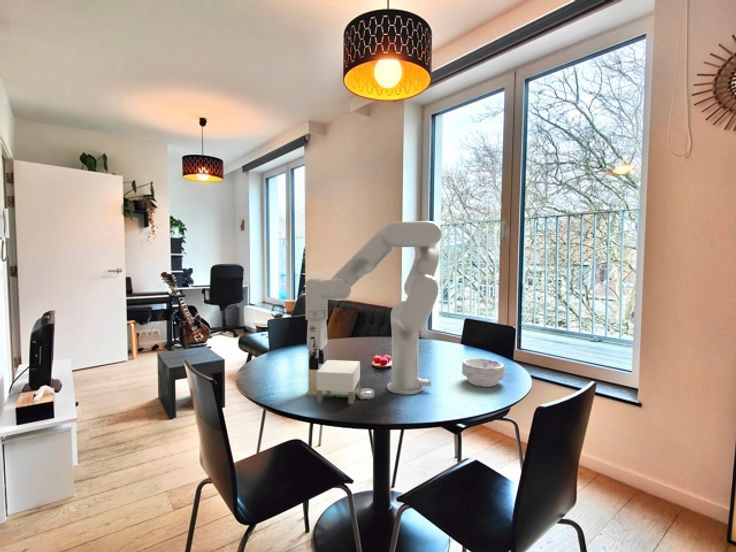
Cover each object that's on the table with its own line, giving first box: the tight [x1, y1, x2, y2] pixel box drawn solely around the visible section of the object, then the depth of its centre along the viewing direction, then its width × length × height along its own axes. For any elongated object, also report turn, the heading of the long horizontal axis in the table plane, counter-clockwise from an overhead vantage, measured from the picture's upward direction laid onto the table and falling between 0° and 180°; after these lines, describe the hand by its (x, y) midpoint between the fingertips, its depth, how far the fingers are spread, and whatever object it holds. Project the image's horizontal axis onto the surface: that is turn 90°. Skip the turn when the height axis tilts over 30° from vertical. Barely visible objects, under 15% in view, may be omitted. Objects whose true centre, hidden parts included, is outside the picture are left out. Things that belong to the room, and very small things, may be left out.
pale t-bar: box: [305, 350, 358, 400], centre depth 133 cm, size 17×7×15 cm, turn 83°
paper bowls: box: [461, 357, 505, 388], centre depth 146 cm, size 15×15×8 cm
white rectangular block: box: [316, 359, 361, 405], centre depth 132 cm, size 12×15×10 cm
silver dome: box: [356, 387, 375, 400], centre depth 132 cm, size 6×6×2 cm
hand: (316, 366), depth 133 cm, fingers open, 6 cm apart
